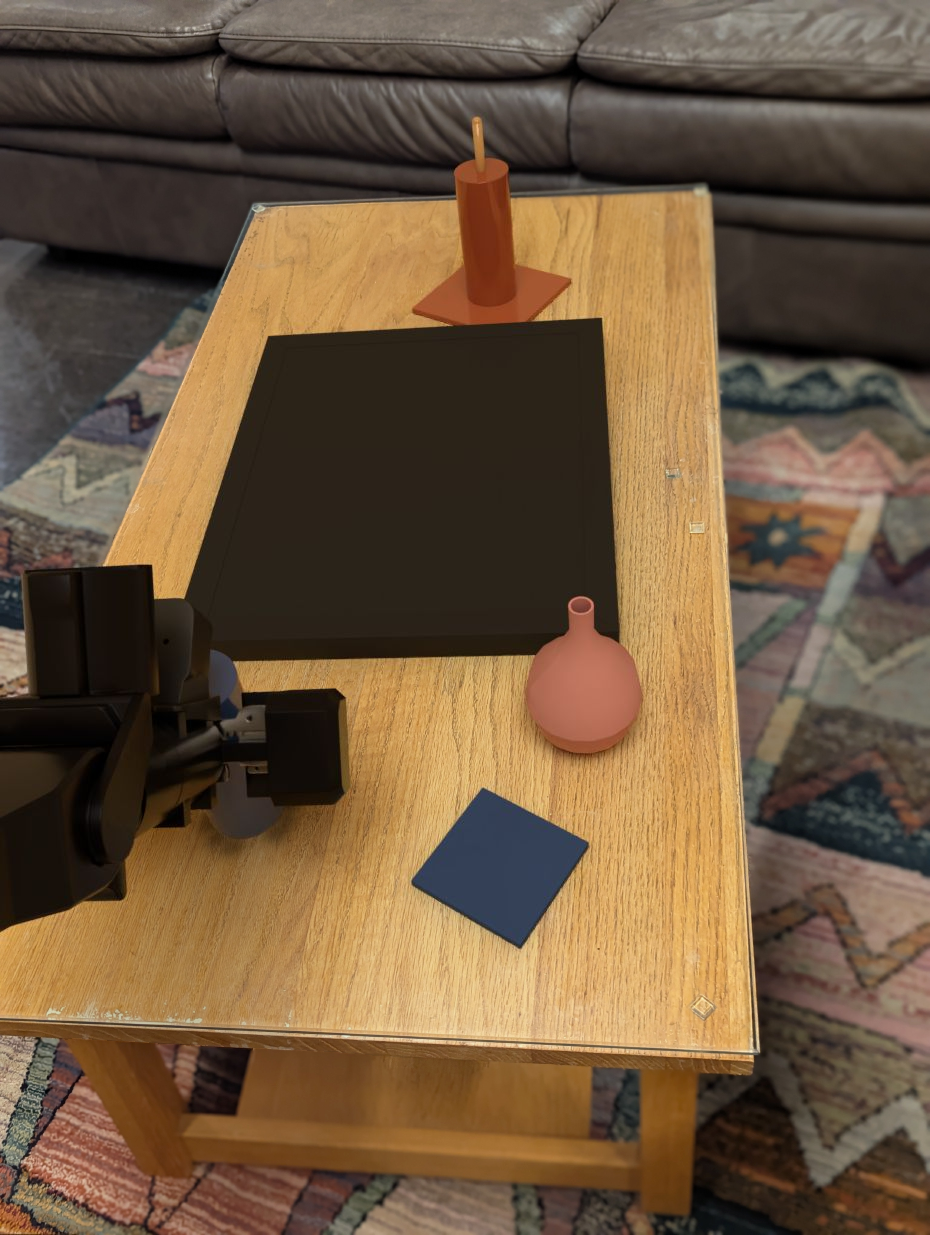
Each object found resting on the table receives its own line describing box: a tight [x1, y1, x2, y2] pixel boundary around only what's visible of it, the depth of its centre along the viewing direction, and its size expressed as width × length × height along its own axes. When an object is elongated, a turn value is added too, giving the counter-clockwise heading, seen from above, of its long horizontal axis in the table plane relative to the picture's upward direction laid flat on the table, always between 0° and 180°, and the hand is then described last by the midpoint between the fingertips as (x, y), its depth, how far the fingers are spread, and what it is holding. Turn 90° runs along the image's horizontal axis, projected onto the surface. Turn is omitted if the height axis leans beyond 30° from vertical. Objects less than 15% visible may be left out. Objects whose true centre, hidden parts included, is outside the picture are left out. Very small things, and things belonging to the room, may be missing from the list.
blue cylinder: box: [204, 650, 285, 840], centre depth 67 cm, size 5×5×13 cm
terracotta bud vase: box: [524, 597, 644, 754], centre depth 69 cm, size 8×8×12 cm
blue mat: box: [410, 787, 590, 950], centre depth 67 cm, size 8×8×1 cm
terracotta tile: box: [411, 263, 572, 326], centre depth 112 cm, size 12×12×1 cm
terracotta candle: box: [453, 116, 517, 306], centre depth 105 cm, size 5×5×18 cm
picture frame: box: [183, 317, 621, 662], centre depth 92 cm, size 40×2×33 cm
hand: (226, 729), depth 68 cm, fingers closed on blue cylinder, 5 cm apart
